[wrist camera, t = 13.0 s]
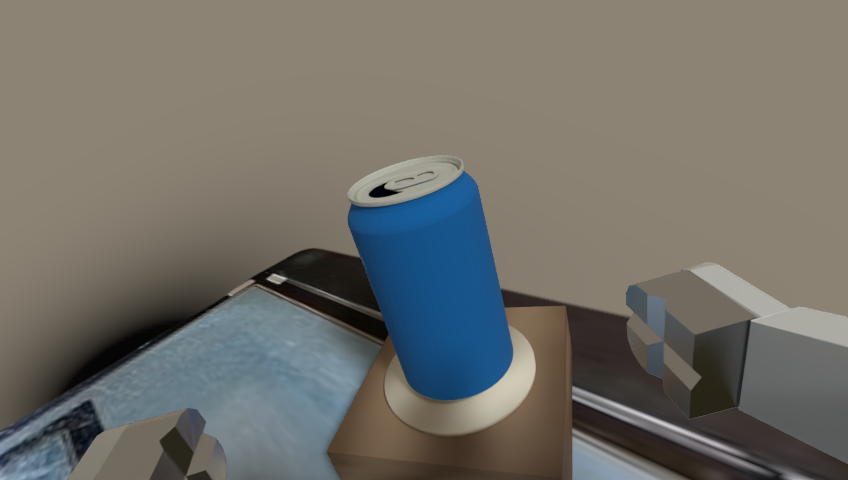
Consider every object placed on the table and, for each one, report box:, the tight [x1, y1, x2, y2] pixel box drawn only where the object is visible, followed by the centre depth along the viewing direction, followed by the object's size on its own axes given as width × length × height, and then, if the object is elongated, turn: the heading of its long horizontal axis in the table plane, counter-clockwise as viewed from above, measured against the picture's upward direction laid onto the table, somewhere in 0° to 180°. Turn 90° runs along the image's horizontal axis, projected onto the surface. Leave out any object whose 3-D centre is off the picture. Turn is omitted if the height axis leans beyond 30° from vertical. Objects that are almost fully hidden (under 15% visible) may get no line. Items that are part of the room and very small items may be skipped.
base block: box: [327, 306, 572, 480], centre depth 26 cm, size 12×12×4 cm
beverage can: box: [348, 155, 513, 401], centre depth 23 cm, size 6×6×12 cm
